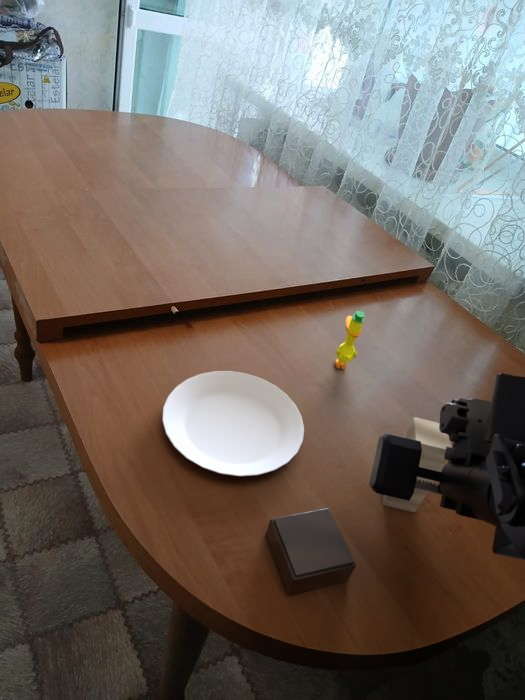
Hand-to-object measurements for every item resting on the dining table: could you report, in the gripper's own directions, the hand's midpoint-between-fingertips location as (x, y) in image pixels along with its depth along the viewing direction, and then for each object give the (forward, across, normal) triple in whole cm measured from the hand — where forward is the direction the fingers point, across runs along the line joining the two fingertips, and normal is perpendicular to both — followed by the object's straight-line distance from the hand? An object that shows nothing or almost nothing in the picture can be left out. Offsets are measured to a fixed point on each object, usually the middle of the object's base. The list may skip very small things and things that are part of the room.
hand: (435, 473), depth 65 cm
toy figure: (+32, +9, -14) cm, 36 cm away
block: (+13, 0, +4) cm, 13 cm away
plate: (+16, +25, +1) cm, 30 cm away
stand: (+4, +12, +14) cm, 19 cm away
